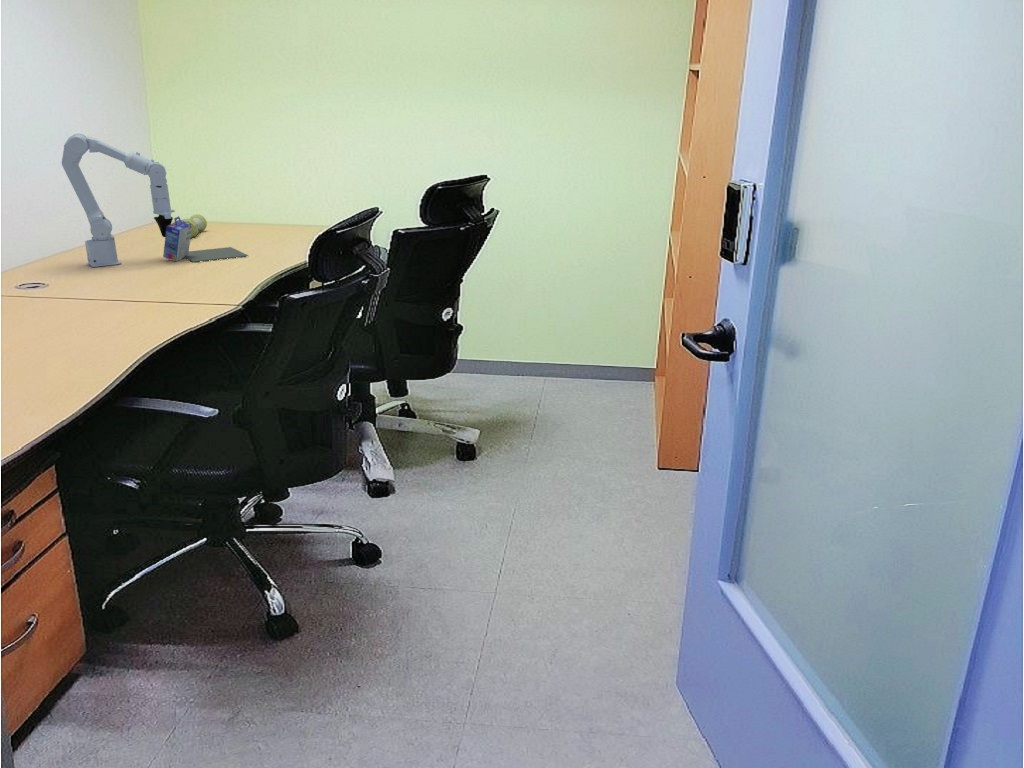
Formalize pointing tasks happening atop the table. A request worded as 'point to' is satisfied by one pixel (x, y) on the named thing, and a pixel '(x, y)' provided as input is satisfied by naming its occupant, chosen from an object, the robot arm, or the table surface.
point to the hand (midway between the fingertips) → (165, 236)
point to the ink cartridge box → (177, 240)
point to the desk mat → (214, 254)
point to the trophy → (196, 224)
